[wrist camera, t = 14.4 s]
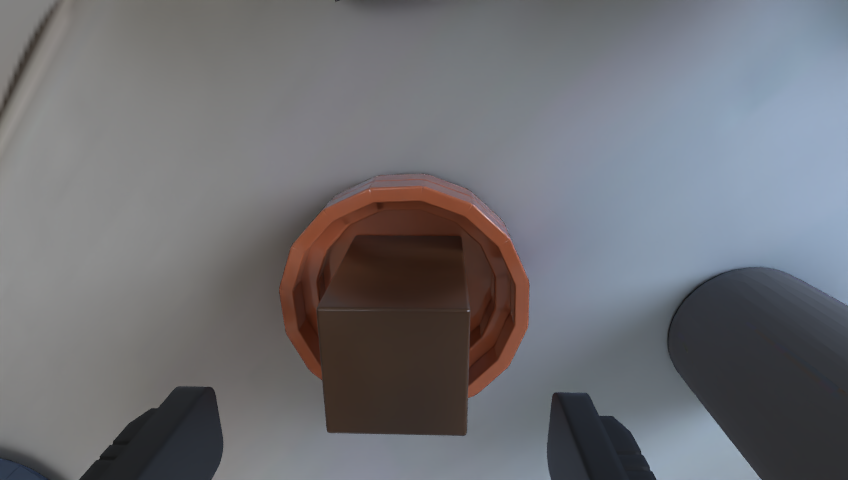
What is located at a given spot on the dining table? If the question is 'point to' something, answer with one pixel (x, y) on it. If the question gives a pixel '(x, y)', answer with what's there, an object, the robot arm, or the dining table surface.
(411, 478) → the dining table surface
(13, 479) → the slate dish
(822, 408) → the bottle
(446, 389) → the block
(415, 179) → the terracotta dish
